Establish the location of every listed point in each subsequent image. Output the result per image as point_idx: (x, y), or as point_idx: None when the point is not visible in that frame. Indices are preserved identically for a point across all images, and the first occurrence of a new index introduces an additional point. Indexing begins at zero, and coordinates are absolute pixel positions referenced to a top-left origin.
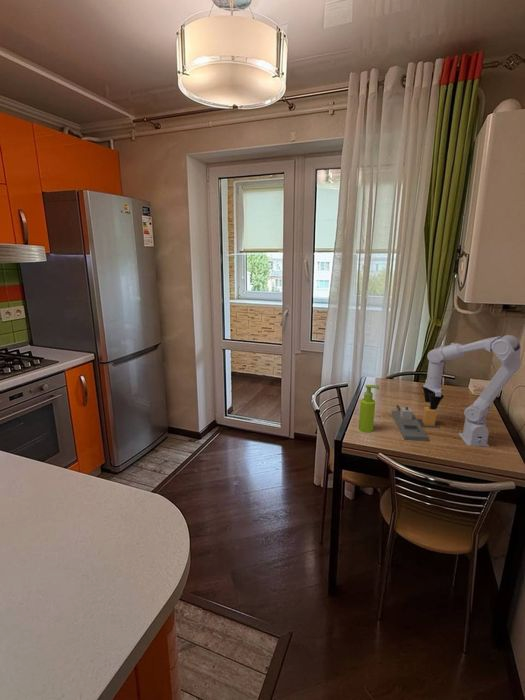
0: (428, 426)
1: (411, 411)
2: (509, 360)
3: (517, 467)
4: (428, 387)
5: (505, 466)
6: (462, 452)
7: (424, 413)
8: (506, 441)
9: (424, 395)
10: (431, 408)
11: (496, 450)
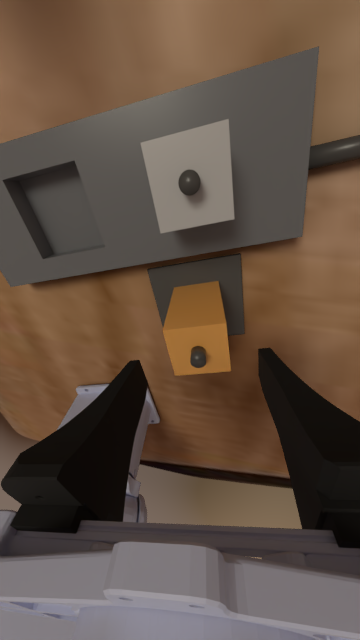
0: (166, 300)
1: (161, 224)
2: None
3: (35, 438)
4: (82, 592)
5: (23, 424)
6: (27, 366)
7: (200, 306)
8: (149, 453)
9: (296, 377)
10: (125, 367)
11: None
